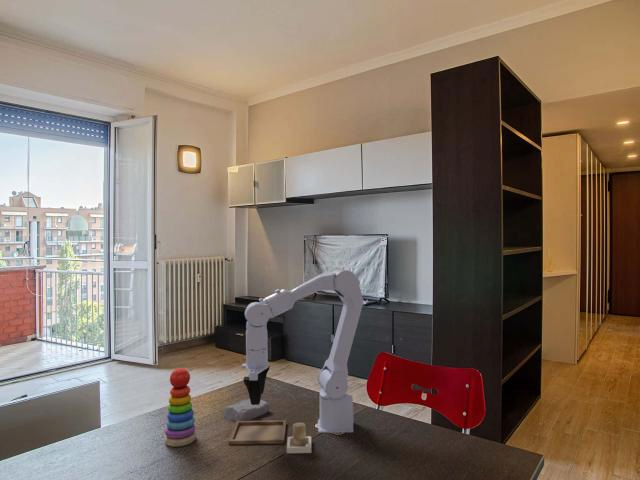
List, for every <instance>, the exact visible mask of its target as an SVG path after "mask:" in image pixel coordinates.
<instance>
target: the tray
mask: <svg viewBox="0 0 640 480" xmlns="http://www.w3.org/2000/svg"><path fill="white" fill-rule="evenodd" d="M286 428H287V420H285V419H283V420H282V419H281V420H280V419H279V420H277V419H276V420H275V419H274V420H249V421H235V423H234V427H233V429H232V431H231V434H230V437H229V440H228V446H229V445H230V446H231V445H233V446H234V445H283V444H285V437H286Z"/></svg>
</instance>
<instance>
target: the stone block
mask: <svg viewBox="0 0 640 480" xmlns="http://www.w3.org/2000/svg"><path fill="white" fill-rule="evenodd" d="M269 410H270V403H269V402H267V401H265V400H263V399H261V400H260V404H259V405H251V402H250V397H249V398H245V399H243V400H240V401H238V402H236V403H234V404H232V405H229V406H225V407H224V408H223V418H224V419H225V420H227V421H230V422H231V421H234V422H236V421H252V420H253V419H256V418H258V417H259V416H264V415H267V414H268V413H269Z"/></svg>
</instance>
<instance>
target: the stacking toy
mask: <svg viewBox="0 0 640 480" xmlns="http://www.w3.org/2000/svg"><path fill="white" fill-rule="evenodd" d="M190 379H191V373H190V372H189V371H188V370H187V369H186V368H183V367H180V368H178V367H177V368H176V369H175V370H173V371H172V372H171V374H170V375H169V382H170V384H171V386H172V388H170V390H169V393H170V396H169V399H168V403H169V404H168V406H167V410H168V413H167V415H166V417H167V421H166V427H165V430H164V433H165V436H164V443H165V444H166V445H168V446H169V447H174V448H176V447H184V446H187V445H189V444H191V443H193V442H194V441H195V440H196V438H197V431H196V425H195V424H194V423H195V421H196V419H195V417H194V409H193V402H192V401H191V400H192V396H191V394H190V393H191V388H190V386H188V384H189V383H190Z"/></svg>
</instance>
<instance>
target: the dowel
mask: <svg viewBox="0 0 640 480" xmlns="http://www.w3.org/2000/svg"><path fill="white" fill-rule="evenodd" d="M306 426H307V425H306V423H304V422H296V423H295V422H294V423H293V424H292V437H293V446H306V435H307V434H306V433H307V431H306V430H307V429H306Z"/></svg>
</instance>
